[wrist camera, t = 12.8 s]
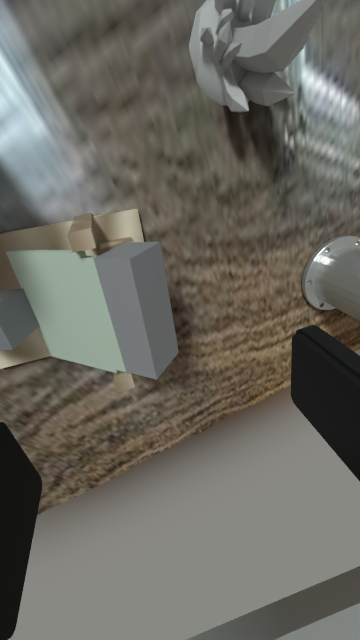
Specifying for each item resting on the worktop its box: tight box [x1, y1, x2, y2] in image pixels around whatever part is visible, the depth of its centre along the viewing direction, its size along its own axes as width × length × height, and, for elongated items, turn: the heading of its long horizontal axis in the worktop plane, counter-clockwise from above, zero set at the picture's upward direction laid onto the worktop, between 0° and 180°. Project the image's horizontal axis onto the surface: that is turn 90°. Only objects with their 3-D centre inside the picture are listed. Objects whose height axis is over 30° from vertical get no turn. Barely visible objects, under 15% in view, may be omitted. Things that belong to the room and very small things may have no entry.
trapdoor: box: [6, 242, 179, 380], centre depth 33 cm, size 16×14×5 cm
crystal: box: [189, 0, 325, 113], centre depth 25 cm, size 10×13×15 cm
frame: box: [0, 209, 144, 392], centre depth 33 cm, size 23×18×12 cm
